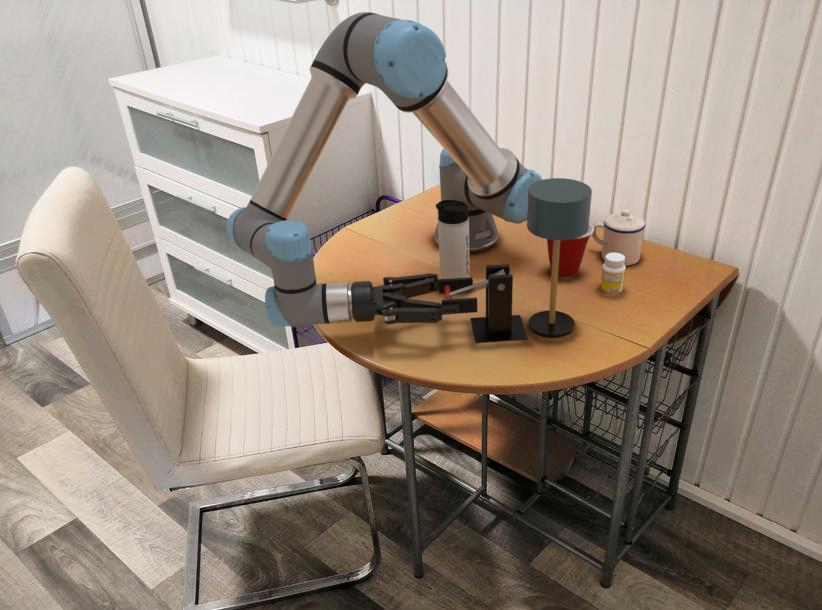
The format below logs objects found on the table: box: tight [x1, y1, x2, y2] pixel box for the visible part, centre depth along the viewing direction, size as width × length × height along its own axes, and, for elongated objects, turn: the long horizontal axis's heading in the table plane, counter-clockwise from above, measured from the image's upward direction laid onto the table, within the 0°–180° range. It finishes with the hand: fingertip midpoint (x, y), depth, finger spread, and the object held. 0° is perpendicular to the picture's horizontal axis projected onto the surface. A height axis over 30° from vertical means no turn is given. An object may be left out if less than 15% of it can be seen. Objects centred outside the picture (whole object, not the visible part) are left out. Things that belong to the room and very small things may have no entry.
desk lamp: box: [526, 177, 593, 339], centre depth 137 cm, size 11×11×29 cm
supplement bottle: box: [600, 253, 627, 294], centre depth 154 cm, size 5×5×8 cm
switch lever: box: [444, 269, 505, 300], centre depth 138 cm, size 12×7×2 cm, turn 95°
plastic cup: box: [546, 222, 594, 278], centre depth 160 cm, size 11×11×12 cm
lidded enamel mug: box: [591, 208, 646, 267], centre depth 167 cm, size 12×9×12 cm
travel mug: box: [435, 200, 471, 279], centre depth 153 cm, size 6×7×20 cm
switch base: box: [470, 263, 528, 344], centre depth 140 cm, size 10×9×14 cm
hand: (474, 294), depth 139 cm, fingers closed on switch lever, 7 cm apart
